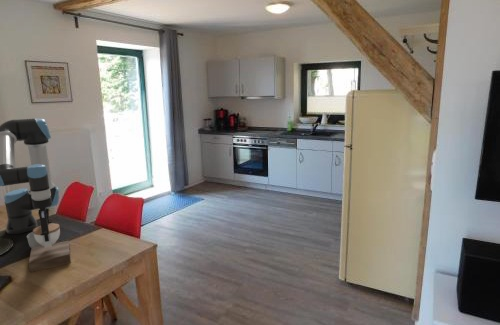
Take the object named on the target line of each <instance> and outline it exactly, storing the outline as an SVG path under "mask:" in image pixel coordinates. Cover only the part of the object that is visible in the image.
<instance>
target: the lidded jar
mask: <svg viewBox="0 0 500 325" xmlns="http://www.w3.org/2000/svg"><path fill="white" fill-rule="evenodd" d="M60 226H61V225H60V224H59V223H54V222H52V223H51V224H48V228H49V233H50V239H51V245H52V244H54V243H57V241H58V239H59V238H60V235H61V229H60ZM32 232H33V233H34V237H35V240H36V241H37V242H38V243H39V244H41V245H42V246H44V240H43V235H42V236H41V234H42V229H41V225H38V226H37V227H36V228H35V229H33V230H32Z"/></svg>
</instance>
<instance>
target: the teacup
mask: <svg viewBox="0 0 500 325" xmlns="http://www.w3.org/2000/svg"><path fill="white" fill-rule="evenodd" d="M26 239H27V242H28V245H29V247H30V248H31V249H32V248H35V247H40V246H42V245H41V244H39V243H38V242H37V241H36V240H35V237H34V233H33V231H32V232H31V231H30V233H28V234H27V235H26Z"/></svg>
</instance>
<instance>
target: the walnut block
mask: <svg viewBox="0 0 500 325" xmlns="http://www.w3.org/2000/svg"><path fill="white" fill-rule="evenodd" d="M71 263H72V258H71V244H70V240H66V241H65V240H64V241H61V242H56V243H54V244H52V247H47V248H45V246H40V247H35V248H31V250H30V255H29V259H28V268H29V272H30V273H32V272H38V271H42V270H45V269H46V270H48V269H50V268H54V267H55V268H56V267H60V266H63V265H67V264H68V265H69V264H71Z"/></svg>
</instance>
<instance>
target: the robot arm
mask: <svg viewBox="0 0 500 325" xmlns="http://www.w3.org/2000/svg"><path fill="white" fill-rule="evenodd" d="M51 136H52V135H51V133H50V129H49V126H48V123H47V121H46V119H44V118H23V119H22V118H21V119H10V120H7V121H4V122H3V123H1V124H0V187H5V186H11V185H20V184H26V183H28V184H29V189H28V188H25V187H23V188H19V189H14V190H12V191H9V192H7V193H6V194H4V196H3V197H4V198H3V199H4V204H5V205H4V206H5V210H6V215H7V222H6V227H5V230H6V233H7V234H9V235H19V234H23V233H27V232H31V231H33V230H34V229H35V228H36V227H38V226H39V225H38V221H37V220H36V217H34V215H33V211H34V210H35V211H37V210H38V216H39V221H40V226H41V229H42V234H41V236H42V235H43V240H44V246H45V248H47V247H52V245H51V239H50V233H49V228H48V224H51V223H53V222H52V221H51V219H50V209H49V208H53V207H56V206H58V204H59V199H60V195H59V192H60V191H59V186H56V184H55V183H54V182H53V181H52V177H51V176H52V175H51V174H52V173H51V170H50V162H49V156H48V148H47V144H48V143H49V140H50V139H52V137H51ZM21 141H22V142H23V144H24V145H25V146H27V149H28V154H29V160H30V161H29V162H30V165H29V166H28V165H27V166H22V167H21V166H19V167H16V154H15V153H16V150H15V144H16V143H17V142H21Z"/></svg>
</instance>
